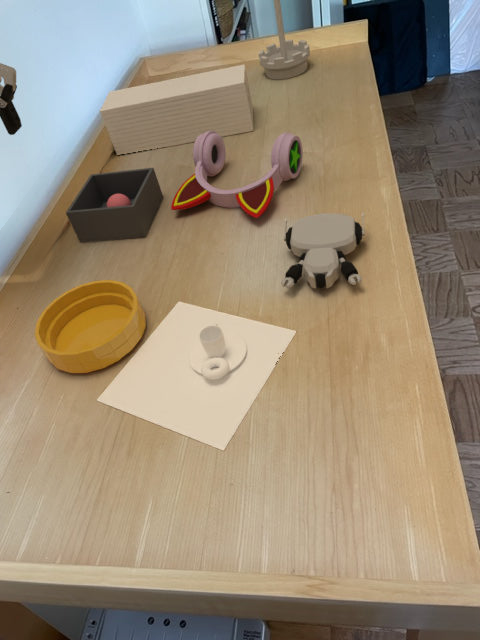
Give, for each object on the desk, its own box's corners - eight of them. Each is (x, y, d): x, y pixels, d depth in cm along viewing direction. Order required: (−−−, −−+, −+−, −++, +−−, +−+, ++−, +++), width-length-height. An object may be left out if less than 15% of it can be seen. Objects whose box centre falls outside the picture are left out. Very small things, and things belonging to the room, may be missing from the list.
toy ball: (108, 224, 101) (99, 203, 98) (116, 210, 104) (107, 190, 101) (130, 222, 100) (122, 201, 97) (137, 208, 103) (129, 187, 100)
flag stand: (316, 72, 136) (302, -70, 115) (266, 85, 136) (243, -54, 116) (305, 56, 145) (290, -78, 125) (258, 68, 146) (236, -63, 125)
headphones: (301, 125, 98) (256, 170, 85) (305, 176, 104) (264, 225, 91) (209, 124, 107) (154, 165, 93) (217, 171, 113) (167, 216, 99)
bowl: (32, 376, 76) (17, 355, 73) (71, 303, 87) (59, 282, 84) (129, 375, 73) (118, 353, 70) (158, 299, 83) (149, 277, 80)
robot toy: (366, 298, 76) (364, 229, 85) (364, 275, 72) (363, 206, 82) (280, 301, 79) (288, 234, 88) (275, 280, 75) (284, 212, 85)
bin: (80, 242, 100) (65, 212, 95) (103, 203, 109) (90, 174, 104) (145, 237, 97) (133, 206, 92) (163, 197, 106) (153, 167, 101)
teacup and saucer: (225, 389, 68) (218, 368, 65) (175, 372, 71) (166, 352, 69) (257, 341, 73) (252, 320, 70) (208, 327, 76) (201, 307, 74)
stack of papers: (253, 111, 126) (244, 64, 119) (253, 131, 119) (244, 82, 111) (125, 135, 131) (109, 91, 124) (117, 156, 124) (99, 110, 116)
